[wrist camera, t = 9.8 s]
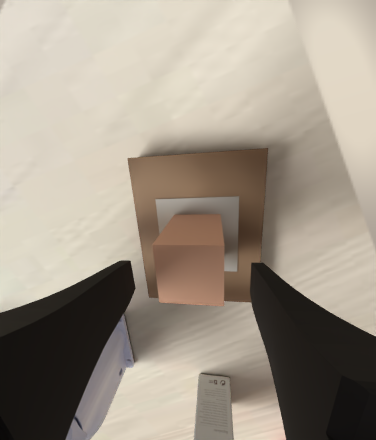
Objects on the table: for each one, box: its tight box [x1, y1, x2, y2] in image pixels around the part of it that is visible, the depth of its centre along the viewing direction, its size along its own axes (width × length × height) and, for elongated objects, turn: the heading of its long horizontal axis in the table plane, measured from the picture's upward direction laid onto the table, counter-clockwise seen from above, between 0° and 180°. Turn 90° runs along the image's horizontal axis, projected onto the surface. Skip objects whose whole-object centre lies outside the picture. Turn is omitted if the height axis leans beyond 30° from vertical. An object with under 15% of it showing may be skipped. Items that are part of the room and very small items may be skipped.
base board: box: [128, 148, 268, 302], centre depth 17 cm, size 14×11×2 cm
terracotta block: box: [152, 214, 224, 306], centre depth 13 cm, size 4×4×6 cm
